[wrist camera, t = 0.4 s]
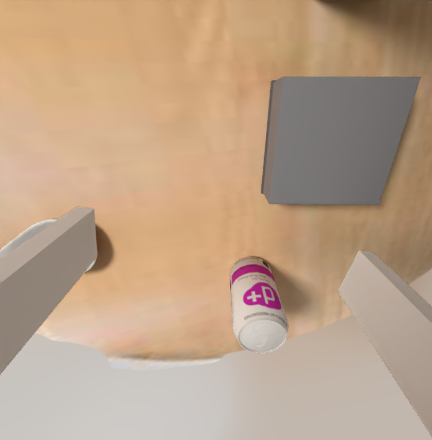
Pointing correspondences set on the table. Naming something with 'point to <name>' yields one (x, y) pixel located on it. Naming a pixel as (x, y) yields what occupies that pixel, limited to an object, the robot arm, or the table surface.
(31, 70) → the table surface
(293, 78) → the charcoal base block
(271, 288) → the supplement can
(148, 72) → the table surface
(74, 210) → the robot arm
